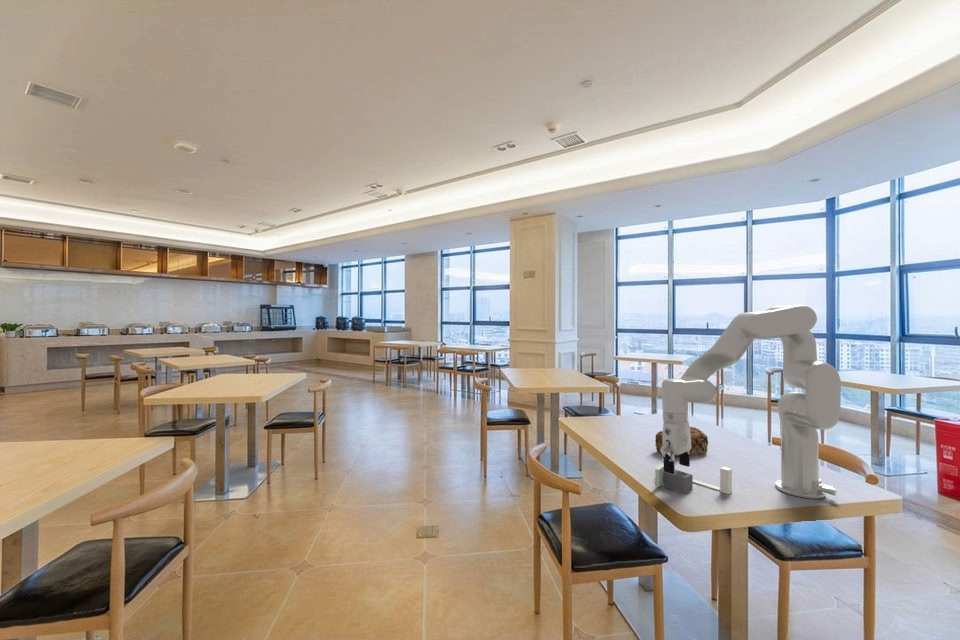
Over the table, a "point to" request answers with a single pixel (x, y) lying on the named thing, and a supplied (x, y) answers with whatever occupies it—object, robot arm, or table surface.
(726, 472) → the door frame
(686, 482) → the block
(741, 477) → the table surface
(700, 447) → the bread
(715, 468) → the table surface
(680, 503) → the table surface
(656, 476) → the door
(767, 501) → the table surface
